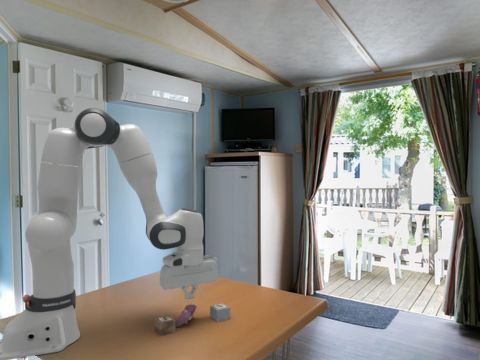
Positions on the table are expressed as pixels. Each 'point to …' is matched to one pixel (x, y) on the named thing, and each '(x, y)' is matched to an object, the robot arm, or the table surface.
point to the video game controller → (185, 315)
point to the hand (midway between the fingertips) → (189, 298)
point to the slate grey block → (220, 312)
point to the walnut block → (164, 325)
